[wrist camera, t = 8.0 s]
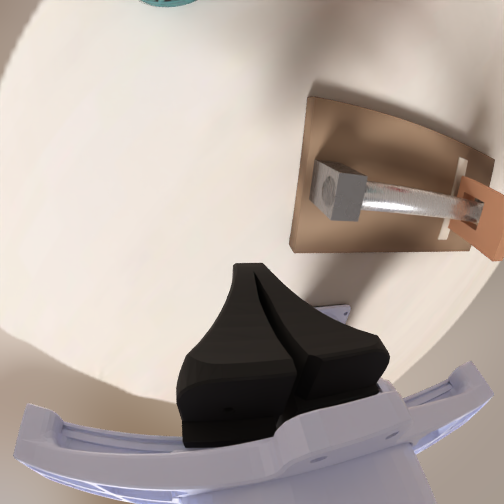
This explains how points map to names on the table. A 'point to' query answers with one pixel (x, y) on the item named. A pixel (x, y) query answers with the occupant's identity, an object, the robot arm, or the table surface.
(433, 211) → the pipe stand
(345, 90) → the table surface
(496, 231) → the collar
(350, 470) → the robot arm
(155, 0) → the beverage bottle
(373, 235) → the board
